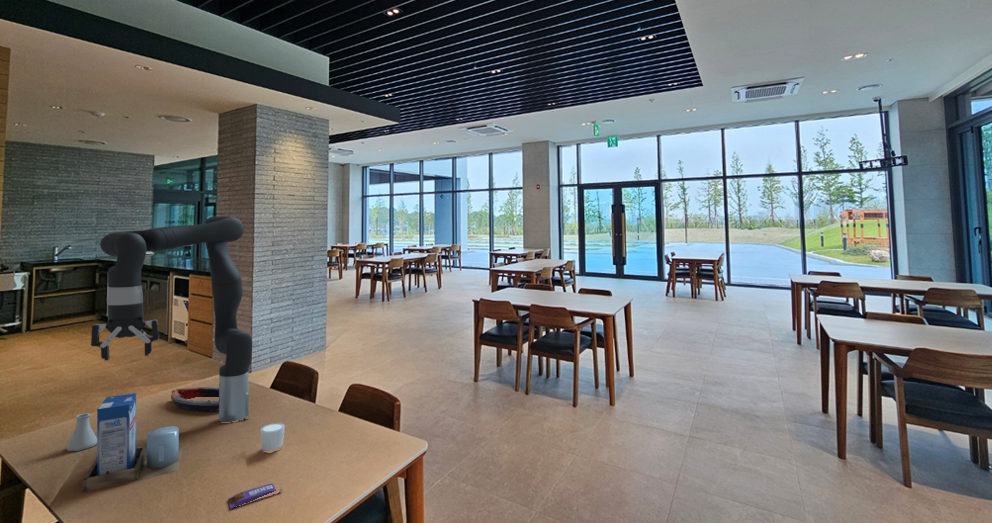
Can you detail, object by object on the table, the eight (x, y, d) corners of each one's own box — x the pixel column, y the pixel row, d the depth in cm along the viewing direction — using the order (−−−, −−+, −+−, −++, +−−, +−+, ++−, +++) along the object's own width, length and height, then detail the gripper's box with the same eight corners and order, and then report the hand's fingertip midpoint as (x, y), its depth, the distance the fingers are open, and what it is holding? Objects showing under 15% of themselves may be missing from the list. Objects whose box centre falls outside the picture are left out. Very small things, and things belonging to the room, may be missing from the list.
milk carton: (129, 477, 107) (129, 404, 107) (97, 484, 104) (97, 409, 103) (136, 460, 116) (136, 392, 115) (107, 466, 112) (106, 396, 112)
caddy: (182, 452, 124) (182, 438, 124) (177, 475, 111) (178, 460, 111) (98, 470, 113) (98, 454, 113) (82, 498, 101) (82, 480, 100)
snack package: (278, 479, 109) (282, 488, 105) (278, 486, 109) (282, 495, 105) (227, 494, 101) (230, 505, 98) (227, 502, 102) (230, 512, 98)
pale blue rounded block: (179, 453, 120) (179, 424, 120) (176, 466, 113) (176, 435, 113) (149, 460, 116) (149, 429, 116) (144, 473, 109) (144, 441, 109)
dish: (211, 418, 149) (211, 405, 149) (156, 405, 158) (156, 393, 158) (249, 403, 163) (249, 391, 163) (196, 392, 173) (196, 381, 173)
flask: (77, 453, 121) (77, 421, 121) (59, 450, 123) (59, 418, 123) (104, 442, 129) (105, 412, 128) (88, 439, 130) (88, 409, 130)
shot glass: (289, 446, 129) (289, 425, 129) (269, 456, 123) (269, 434, 123) (275, 441, 132) (275, 421, 132) (255, 451, 126) (255, 429, 125)
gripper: (159, 298, 121) (160, 350, 122) (94, 302, 113) (96, 358, 114) (156, 301, 115) (157, 357, 116) (87, 305, 107) (89, 365, 108)
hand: (127, 357), depth 115 cm, fingers open, 8 cm apart
